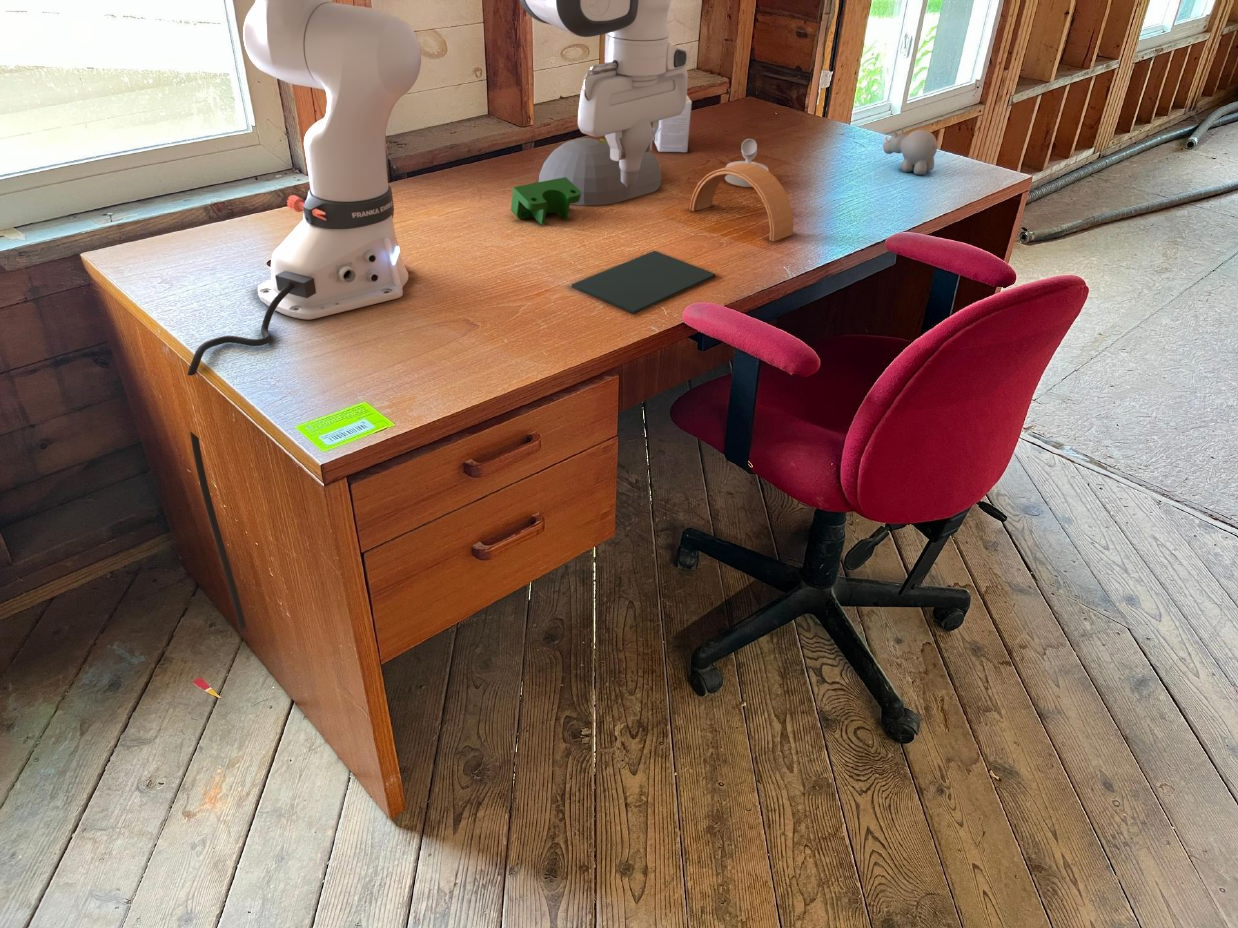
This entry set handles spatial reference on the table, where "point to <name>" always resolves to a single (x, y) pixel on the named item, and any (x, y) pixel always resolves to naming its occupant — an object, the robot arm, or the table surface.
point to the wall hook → (748, 153)
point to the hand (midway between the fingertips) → (631, 155)
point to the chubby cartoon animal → (913, 150)
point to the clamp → (544, 199)
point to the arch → (764, 186)
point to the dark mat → (643, 281)
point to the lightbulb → (634, 150)
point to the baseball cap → (598, 172)
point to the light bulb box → (674, 131)
